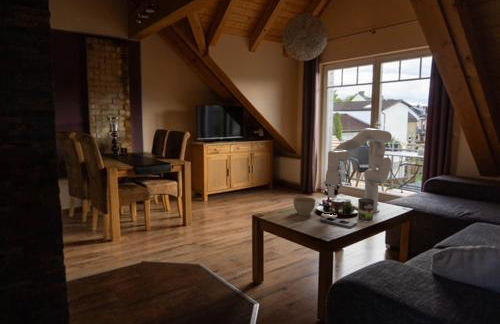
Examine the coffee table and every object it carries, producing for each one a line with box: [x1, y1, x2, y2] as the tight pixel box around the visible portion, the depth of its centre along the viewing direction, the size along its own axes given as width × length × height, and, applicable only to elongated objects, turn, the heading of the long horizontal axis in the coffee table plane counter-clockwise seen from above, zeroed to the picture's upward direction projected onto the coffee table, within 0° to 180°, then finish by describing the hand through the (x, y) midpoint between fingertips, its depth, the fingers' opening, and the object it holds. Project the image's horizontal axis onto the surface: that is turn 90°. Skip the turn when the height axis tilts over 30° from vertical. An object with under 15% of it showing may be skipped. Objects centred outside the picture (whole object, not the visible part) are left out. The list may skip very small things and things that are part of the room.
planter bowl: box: [292, 196, 316, 217], centre depth 264 cm, size 16×16×11 cm
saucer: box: [320, 212, 338, 218], centre depth 260 cm, size 11×11×1 cm
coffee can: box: [357, 198, 374, 223], centre depth 250 cm, size 10×10×14 cm
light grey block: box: [327, 185, 338, 199], centre depth 253 cm, size 4×4×8 cm
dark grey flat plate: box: [320, 216, 358, 229], centre depth 244 cm, size 9×22×2 cm, turn 47°
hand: (332, 194), depth 254 cm, fingers closed on light grey block, 4 cm apart
